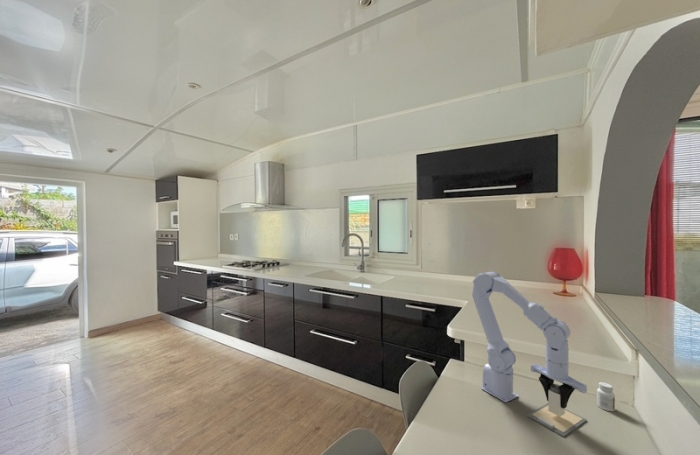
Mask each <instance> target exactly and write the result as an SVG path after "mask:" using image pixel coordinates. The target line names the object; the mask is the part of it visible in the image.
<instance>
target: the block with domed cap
mask: <svg viewBox="0 0 700 455" xmlns="http://www.w3.org/2000/svg"><path fill="white" fill-rule="evenodd" d="M560 385H561V384H560ZM560 385H559V384H556V383H553V384H550V389H549V390H548V401H547V402H548V403H547V404H548V411H550V412H552V413H554V414H556V415H557V416H559V417H561V416H562V415H564V414H565V409H566V408H564V409H563V408H561V395H560V390H559V386H560Z"/></svg>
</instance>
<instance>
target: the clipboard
mask: <svg viewBox="0 0 700 455" xmlns="http://www.w3.org/2000/svg"><path fill="white" fill-rule="evenodd" d="M526 417H528V418H529V419H531V420H532V421H535V422H536V423H538V424H539V425H541V426H543V427H544V428H546V429H548V430H550V431H552V432H554V433H555V434H557V435H559V436H561V437H563V438H565V437H567V435H569V434H570V433H572V432H574V431H575V430H576V429H578V428H579V427H580V426H582V425H583V424H585V423H586V422H587V421H588V419H587V418H584V417H582V416H580V415H578V414H576V413H574V412H572V411H570V410H568V409H566V408H565V414H564V415H562V416H561V417H559V416H557V415H556V414H554V413H552V412H550V411H548V403H546V404H543V405H542V406H540V407H539V408H537V409H535V410H534V411H531V412H530V413H527V414H526Z"/></svg>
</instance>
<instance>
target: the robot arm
mask: <svg viewBox="0 0 700 455" xmlns="http://www.w3.org/2000/svg"><path fill="white" fill-rule="evenodd" d="M472 284H473V287H472V288H473V289H472V299H473V302H474V305H475V307H476V311H477V314H478V316H479V321H480V322H481V325H482V327H483V331H484V334H485V336H486V340H487V347H486V349H487V350H486V353H487V355H488V356H487V362H488V363H486V364H485V365H484V366H483V369H482V387H481V390H483V391H485V392H487V393H488V394H490V395H491V396H493V397H495V398H496V399H499V400H501V401H502V402H504V403H508V402H511V401H513V400H514V399H516V398H518V397H519V394H517V393H516V392H514V368H513V365H515V363H516V361H517V357H516V355H515V353H514V352H513V350H511V348H510V345H509V343H508V342H506V341H505V340H504V336H503V334H502V332H501V329H500V326H499V324H498V320H497V318H496V315H495V312H494V309H493V307H492V304H491V301H490V298H489V297H490V296H491V294H492V293H493V292H494V293H502V294H503V295H504V296H506V297H507V298H508V299H510V300H511V301H512V302H513V303H515V304H516V305H517V306H518V307H520V309H522V311H523V312H522V313H523V315H524V316H525V317H526V318H527V319H528V320H529V321H530V322H532V323H533V324H534V325H535V326H536V327H537V328H539V330H541V331H542V332H543V336H544V337H545V339H546V341H545V342H546V344H545V366H544V367H543V366H540V365H538V364H534V363H533V364H530V372H532V373H536V374H540V376H539V377H538V381H539V382H540V384H541V386H542V388H543V391H544V393H545V397H546V401H547V402H548V390H549V389H550V384H555V381H556V382H558V383H561V384H560V386H559V390H560V395H561V408H563V409H564V408H565V409H566V408H567V406H568V403H569V399H570V397H571V395H572V394H573V393H574V391H575V390H578V391H579V392H580V393H582V394H586V393H587V391H588V389H587V388H588V387H587V386H588V385H587V384H585V383H582V382H581V381H579V380H577V379H574V378H573V377H571V376H570V375H569V340H568V338H569V337H570V335H571V328H570V327H569V326H568V325H567V323H566V322H564V321H563V320H562V321H561V320H559V319H558V318H557V317H554V316H552V315H551V314H550V312H548V311H547V310H546V309H545V306H543V304H540V305H539V304H538V303H536V302H531V301H530V300H528V299H527V298H526V297H525V296H524V295H523V294H522V293H521V292H519V291H518V290H517V289H516V288H515V287H514V286H513V285H512V284H510V282H508V280H507V279H506V278H505V277H503V276H501V275H500V274H499V273H498V272H496V271H487V272H480V273H477V275H476V276H475V277H474V279H473V280H472Z"/></svg>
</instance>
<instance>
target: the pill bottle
mask: <svg viewBox="0 0 700 455" xmlns="http://www.w3.org/2000/svg"><path fill="white" fill-rule="evenodd" d="M613 391H614V388H613V385H611V384H610V383H607V382H603V381H600V382H598V388H597V389H596V406H598V408H600V409H602V410H604V411H608V412H614V411H615V409H616V408H615V406H616V404H615V402H616V399H615V397H616V396H615V393H614V392H613Z"/></svg>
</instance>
